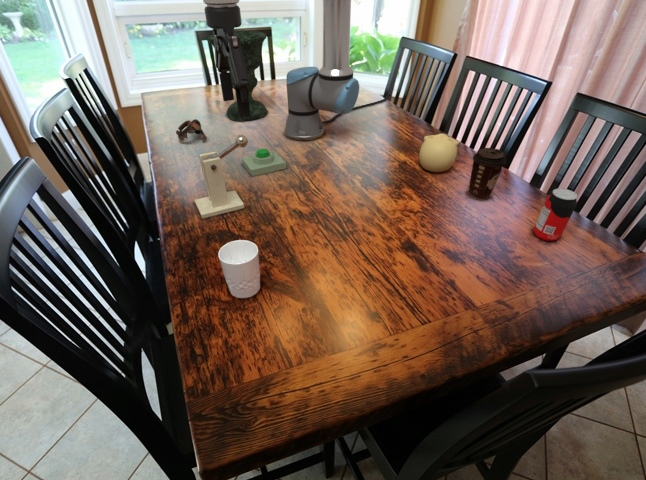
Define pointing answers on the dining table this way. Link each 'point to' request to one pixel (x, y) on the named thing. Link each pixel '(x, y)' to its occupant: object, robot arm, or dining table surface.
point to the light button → (262, 153)
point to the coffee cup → (485, 172)
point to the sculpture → (438, 152)
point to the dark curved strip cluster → (190, 129)
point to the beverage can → (555, 214)
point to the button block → (263, 163)
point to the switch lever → (232, 147)
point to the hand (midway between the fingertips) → (236, 108)
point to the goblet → (252, 57)
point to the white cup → (241, 267)
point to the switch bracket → (216, 190)
